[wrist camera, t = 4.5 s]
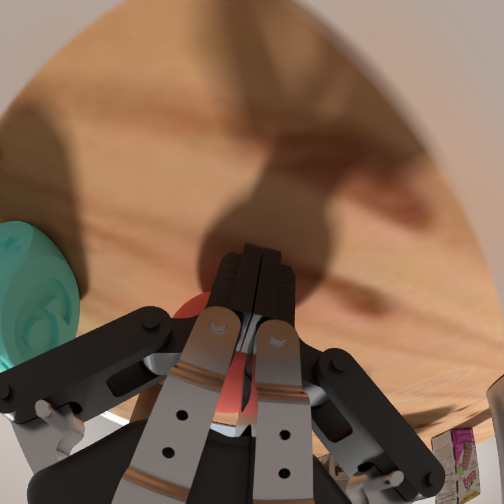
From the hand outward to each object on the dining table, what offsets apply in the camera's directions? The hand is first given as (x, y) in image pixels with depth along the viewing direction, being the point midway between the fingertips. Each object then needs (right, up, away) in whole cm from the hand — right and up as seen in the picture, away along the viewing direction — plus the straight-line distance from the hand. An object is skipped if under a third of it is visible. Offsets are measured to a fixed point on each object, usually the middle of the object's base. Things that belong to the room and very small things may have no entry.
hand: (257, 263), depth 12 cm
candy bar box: (+38, -33, +20) cm, 54 cm away
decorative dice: (-16, 0, +4) cm, 16 cm away
